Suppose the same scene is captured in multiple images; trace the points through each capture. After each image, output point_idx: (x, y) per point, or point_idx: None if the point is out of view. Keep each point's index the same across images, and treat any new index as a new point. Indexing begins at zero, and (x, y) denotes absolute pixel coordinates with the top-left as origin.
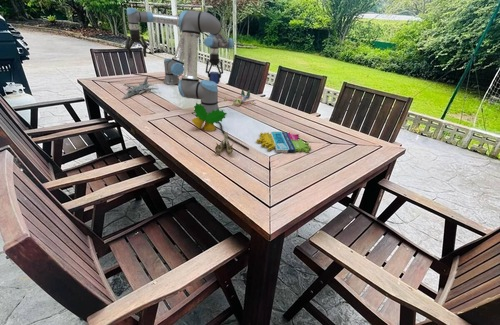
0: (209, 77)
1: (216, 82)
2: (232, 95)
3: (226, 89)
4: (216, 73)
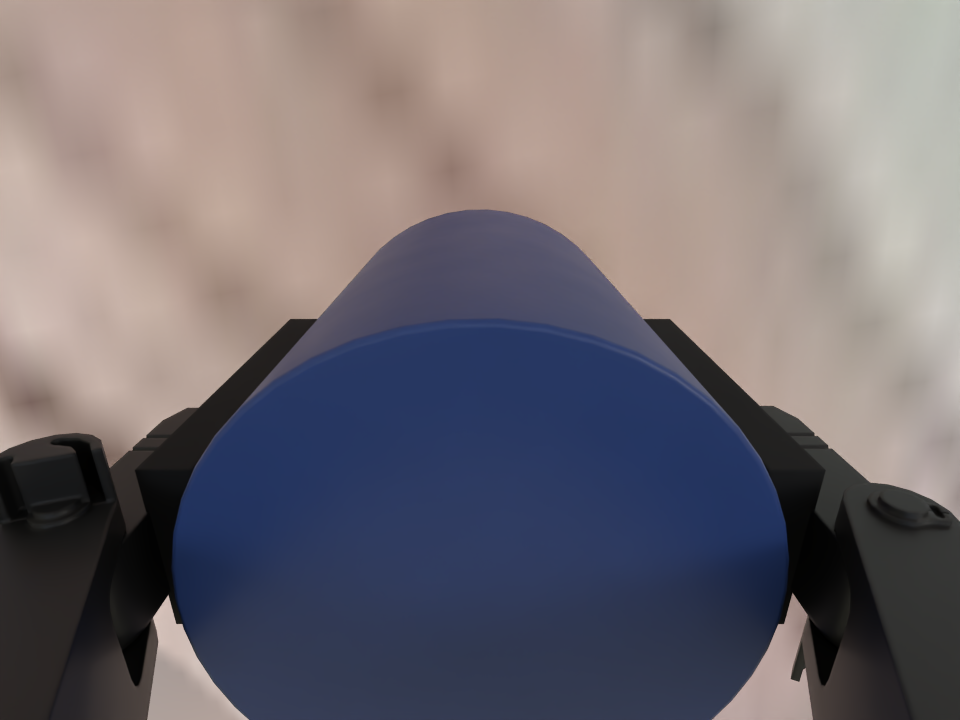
0: (710, 375)
1: (395, 240)
2: (108, 252)
3: None
4: (292, 368)
